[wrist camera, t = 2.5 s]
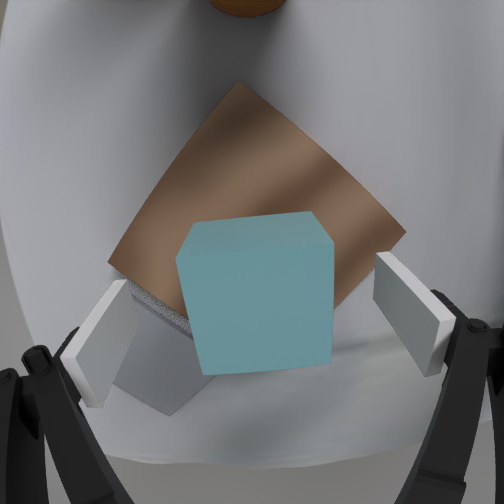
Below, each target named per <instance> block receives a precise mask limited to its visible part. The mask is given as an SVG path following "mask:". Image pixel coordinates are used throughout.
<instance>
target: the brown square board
mask: <svg viewBox="0 0 504 504" xmlns="http://www.w3.org/2000/svg"><path fill="white" fill-rule="evenodd" d="M306 211H312V213H313V214H314V216H315V217H316V218H317V220H318V221H319V222H320V224H321V225H322V227H323V228H324V229H325V231H326V232H327V233H328V235H329V236H330V238H331V239H332V240H333V242H334V305H333V310H334V309H335V308H336V307H337V306H338V305H339V304H340V303H341V302H342V301H343V300H344V299H345V298H346V297H347V295H348V294H349V293H350V292H351V291H352V290H353V289H354V288H355V287H356V286H357V285H358V284H359V283H360V282H361V281H362V280H363V279H364V278H365V277H366V276H367V275H368V274H369V273H370V272H371V271H372V269H373V268H374V267H375V263H376V253H380V252H388V251H390V250H391V249H392V248H393V246H394V245H395V244H396V243H397V242H398V241H399V240H400V239H401V237H402V236H403V235H404V234H405V233H406V231H405V230H404V229H403V228H402V226H401V225H400V224H399V223H398V222H397V221H396V220H395V219H394V218H393V217H392V216H391V215H390V214H389V213H388V211H387V210H386V209H385V208H384V207H383V206H382V205H381V204H380V203H379V202H378V201H377V200H376V199H375V198H374V197H373V196H372V195H371V194H370V193H369V192H368V191H367V190H366V189H365V188H364V187H363V186H362V185H361V184H360V183H359V182H358V181H357V180H356V179H355V178H354V177H353V176H352V175H351V174H350V173H348V172H347V171H346V170H345V169H344V168H343V167H342V166H341V165H340V164H339V163H338V162H337V161H336V160H335V159H333V158H332V157H331V156H330V155H329V154H328V153H327V152H326V151H325V150H324V149H322V148H321V147H320V146H319V145H318V144H317V143H316V142H315V141H313V140H312V139H311V138H310V137H309V136H308V135H306V134H305V133H304V132H303V131H302V130H301V129H299V128H298V127H297V126H296V125H295V124H293V123H292V122H291V121H290V120H289V119H287V118H286V117H285V116H284V115H283V114H281V113H280V112H279V111H278V110H276V109H275V108H274V107H273V106H271V105H270V104H269V103H267V102H266V101H265V100H264V99H262V98H261V97H260V96H258V95H257V94H256V93H255V92H253V91H252V90H251V89H249V88H248V87H247V86H245V85H244V84H243V83H241V82H240V81H237V82H236V84H235V85H234V86H233V87H232V88H231V89H230V91H229V92H228V93H227V94H226V95H225V96H224V98H223V99H222V100H221V101H220V102H219V104H218V105H217V106H216V107H215V108H214V110H213V111H212V112H211V113H210V115H209V116H208V117H207V118H206V120H205V121H204V122H203V123H202V125H201V126H200V127H199V128H198V130H197V131H196V132H195V133H194V135H193V136H192V137H191V139H190V140H189V141H188V143H187V144H186V145H185V147H184V148H183V149H182V151H181V152H180V153H179V155H178V156H177V157H176V159H175V160H174V161H173V163H172V164H171V165H170V167H169V168H168V170H167V171H166V172H165V174H164V175H163V177H162V178H161V180H160V181H159V182H158V184H157V185H156V187H155V188H154V190H153V191H152V193H151V194H150V195H149V197H148V198H147V200H146V201H145V203H144V204H143V206H142V207H141V209H140V210H139V212H138V213H137V215H136V217H135V218H134V220H133V221H132V223H131V224H130V226H129V227H128V229H127V231H126V232H125V234H124V235H123V237H122V239H121V240H120V242H119V244H118V245H117V247H116V249H115V250H114V252H113V254H112V255H111V257H110V259H109V260H108V263H109V264H111V265H112V266H113V267H115V268H116V269H117V270H119V271H120V272H121V273H123V274H124V275H125V276H127V277H128V278H129V279H131V280H132V281H133V282H135V283H136V284H138V285H139V286H140V287H142V288H143V289H145V290H146V291H147V292H149V293H150V294H152V295H153V296H154V297H156V298H157V299H159V300H160V301H162V302H163V303H165V304H166V305H167V306H169V307H170V308H172V309H173V310H175V311H176V312H178V313H179V314H181V315H182V316H184V317H185V318H187V319H188V320H189V318H188V314H187V310H186V306H185V301H184V297H183V292H182V288H181V283H180V279H179V274H178V269H177V264H176V259H175V258H176V256H177V254H178V252H179V250H180V248H181V246H182V245H183V243H184V241H185V239H186V237H187V235H188V233H189V232H190V230H191V228H192V226H193V224H194V223H196V222H204V221H214V220H223V219H232V218H242V217H252V216H262V215H273V214H283V213H295V212H306Z"/></svg>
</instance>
